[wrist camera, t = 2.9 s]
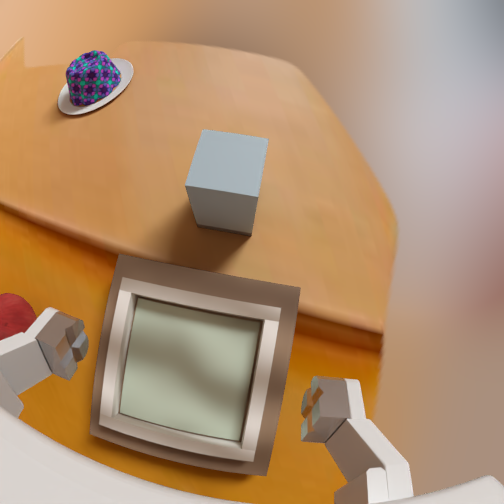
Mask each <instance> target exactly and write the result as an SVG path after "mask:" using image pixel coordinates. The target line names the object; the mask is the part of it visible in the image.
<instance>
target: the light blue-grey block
mask: <svg viewBox="0 0 504 504" xmlns="http://www.w3.org/2000/svg"><path fill="white" fill-rule="evenodd" d="M268 140H269V139H266V138H260V137H254V136H248V135H242V134H235V133H228V132H220V131H213V130H204V129H203V131H202V134H201V137H200V140H199V143H198V146H197V149H196V152H195V155H194V158H193V161H192V164H191V167H190V170H189V174H188V177H187V180H186V183H185V187H186V190H187V194H188V197H189V200H190V204H191V207H192V210H193V213H194V217H195V220H196V223H197V226H198V227H201V228H207V229H212V230H218V231H224V232H230V233H235V234H241V235H247V236H251V235H252V229H253V224H254V218H255V212H256V207H257V201H258V196H259V190H260V185H261V179H262V174H263V168H264V162H265V157H266V151H267V146H268Z"/></svg>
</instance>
